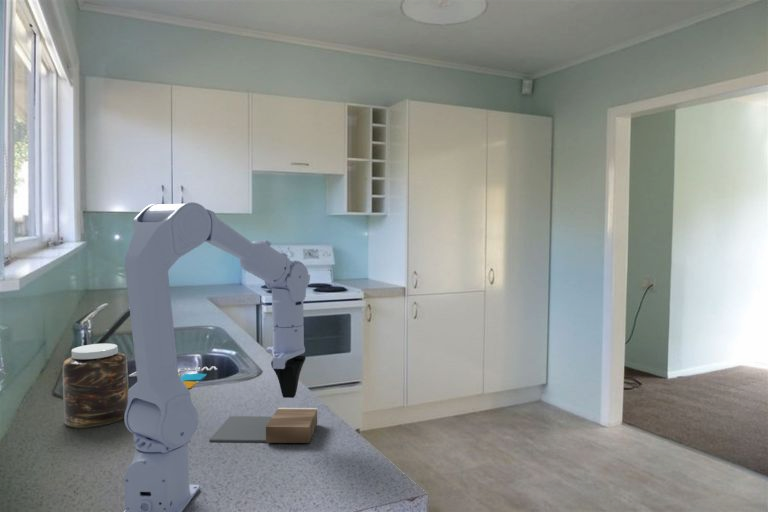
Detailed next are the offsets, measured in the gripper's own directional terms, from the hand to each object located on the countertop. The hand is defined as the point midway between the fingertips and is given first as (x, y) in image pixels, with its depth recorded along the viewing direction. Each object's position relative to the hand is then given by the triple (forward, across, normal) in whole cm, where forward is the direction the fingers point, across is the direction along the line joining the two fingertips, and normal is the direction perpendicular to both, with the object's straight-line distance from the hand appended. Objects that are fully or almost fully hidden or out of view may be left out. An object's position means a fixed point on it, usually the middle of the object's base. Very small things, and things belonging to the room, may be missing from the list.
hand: (289, 396), depth 101 cm
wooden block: (+6, +2, 0) cm, 7 cm away
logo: (+9, -36, -40) cm, 55 cm away
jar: (+9, -9, -43) cm, 45 cm away
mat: (+8, -5, -6) cm, 12 cm away
